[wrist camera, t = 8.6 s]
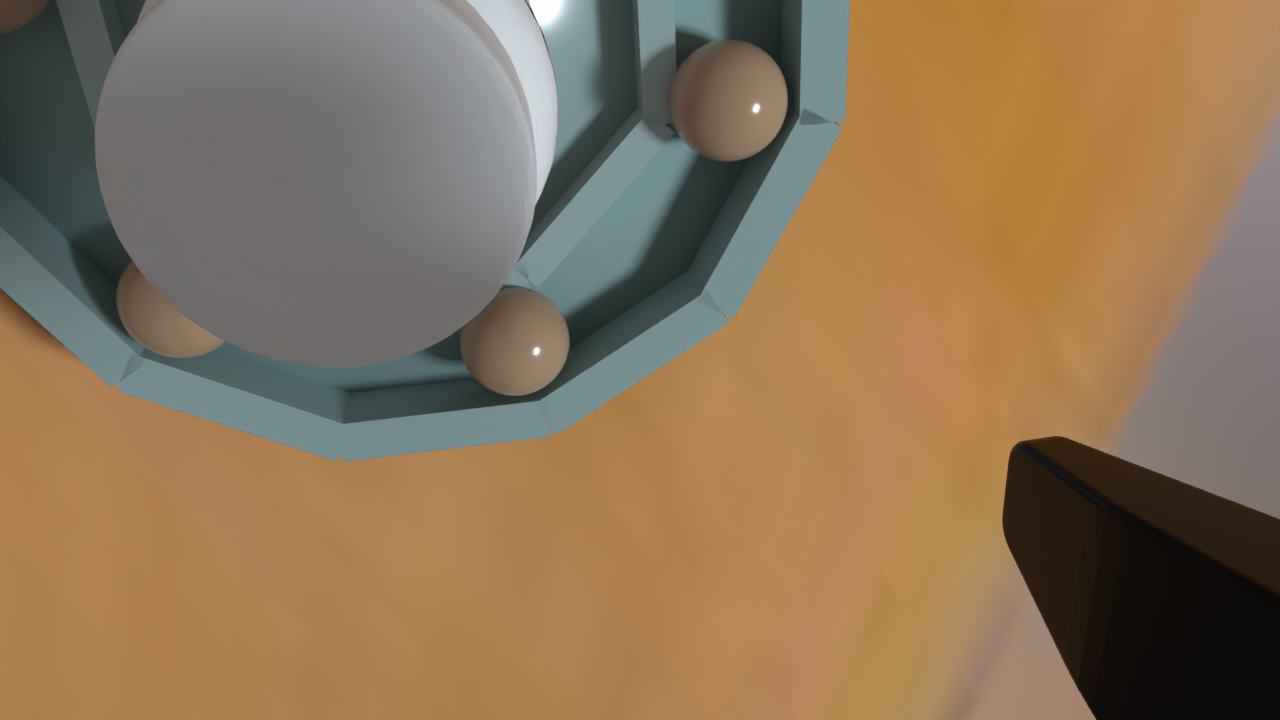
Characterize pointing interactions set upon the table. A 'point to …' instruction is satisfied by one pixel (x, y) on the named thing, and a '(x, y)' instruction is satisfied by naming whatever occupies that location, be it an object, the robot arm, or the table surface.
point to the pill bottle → (327, 166)
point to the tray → (549, 263)
